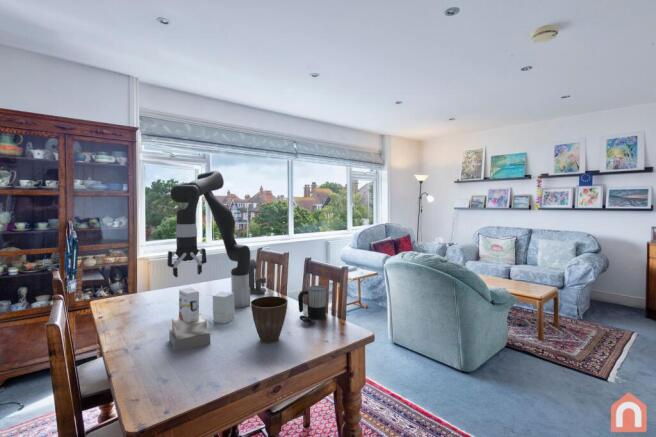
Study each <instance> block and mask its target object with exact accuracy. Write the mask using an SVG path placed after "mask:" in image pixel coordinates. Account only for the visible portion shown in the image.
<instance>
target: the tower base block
mask: <svg viewBox="0 0 656 437" xmlns="http://www.w3.org/2000/svg"><path fill="white" fill-rule="evenodd" d="M168 330H169V331H168V333H169V334H168V335H169V336H168V337H169V342H170V344H171V346H172V349H173V351H174V353H178V352H179V353H180V352H183V351H187V350H191V349H195V348H200V347H205V346H209V345H211V332H210V331H209V329H207V334H202V335H197V336H193V337H188V338H183V339H179V340H177V339H176V337H175V335H174V333H173V331H172V328H170V329H168Z"/></svg>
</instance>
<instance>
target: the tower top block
mask: <svg viewBox="0 0 656 437" xmlns="http://www.w3.org/2000/svg"><path fill="white" fill-rule="evenodd" d="M207 323H208V322H207V320H206V319H205V317H204V315H202V314H201V313H200V312H199V320H197V321H193V322H189V323H187V322H185V321H184V320H182V319H180V318H179V316H178V317H173V318H171V329H172V331H173V333H174V335H175V337H176V339H177V340H179V339H183V338H188V337H193V336H197V335H202V334H207V330H208V328H207V327H208V324H207Z"/></svg>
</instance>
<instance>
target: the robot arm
mask: <svg viewBox="0 0 656 437" xmlns="http://www.w3.org/2000/svg"><path fill="white" fill-rule="evenodd" d="M224 185H225V182H224V178H223V175H222V174H221V172H220V171H219V170H211V171H207V172H203V173H200V174H198V175H197V178H196V179H195V180H192V181H190V182H186V183H184V182H183V183H179V184H175V185H174V186H172V188H171V190H170V192H169V193H170V194H169V195H170V198H171V200H172V201H174V202H175V203H176V204H177V203H179V204H180V203H181V204H187V206H186V207H183V208H180V209H177V211H176V212H175V213H176V229H175V231H176V232H175V235H176V236H175V237H176V249H175V250H173V251H172V250H168V251H167V266H168V267H169V268H172V275H173V276H174V277H175V278H178V276H179V272H178V266H179V264H181V263H182V261H183V262H187V261H193V260H194V261H195V262H196V263H197V265H196V267H197V270H196V272H197V276H198V275H201V274H202V273H203V265H204V264H206V263H207V252H206V248H204V247H201V248H199V249H198V237H197V236H198V230H197V224H196V223H197V220H196V219H197V217H196V216H197V215H196V214H197V210H198V209H197V208H198V204H199V200H200V197H201V196H203V197H204V199H205V201H206V203H207V204H208V207H209V210H210V212H211V215H212V217H213V219H214V222H215V225H216V227H217V229H218V231H219V234H220V236H221V240H222V241H223V245H224V248H225V252H226V254H227V257H228V259H229V260H230V261H233V262H237V265H236V267H233V268H231V270H230V273H231V274H230V283H231V284H230V285H231V286H230V287H231V289H230V290H231V292H230V293H234V309H235V308H236V309H238V308H239V309H241V308H246V307H249V306H251V294H250V288H249V269H250V260H251V249H250V247H249V245H245V244H238V243H237V241H236V239H235V234H234V233H235V229H236V220H235V217H234V215H233V213H232V210H231V209H230V208H229V207H227V205H226V204H224V203H222V202H221V201H220V200H219V199H218V198H217V197H216V196H215V194H214V193H213V191H218V190H221V189H222V188H224ZM198 253H199V254H200V255H201V260H200V259H199V258H198V257H197V255H198ZM175 255H176V256H177V257H176V258H175V259H176V260H174V263H173V257H175Z"/></svg>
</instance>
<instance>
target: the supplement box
mask: <svg viewBox="0 0 656 437" xmlns="http://www.w3.org/2000/svg"><path fill="white" fill-rule="evenodd" d="M235 318H236V317H235V307H234V293H231V292H225V291H219V292H218V293H216V294H214V295H212V321H213V322H214V323H220V324H221V323H223V324H227V323H229V322H231V321H232V320H234V319H235Z"/></svg>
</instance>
